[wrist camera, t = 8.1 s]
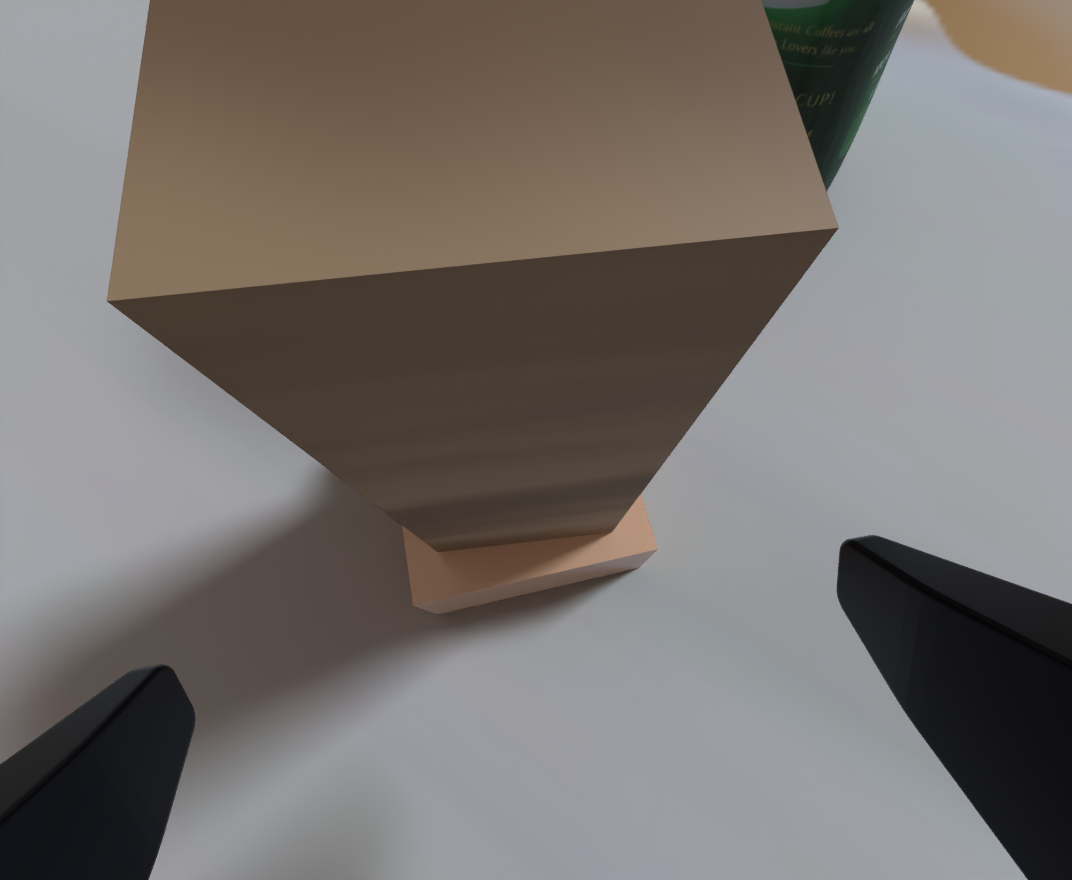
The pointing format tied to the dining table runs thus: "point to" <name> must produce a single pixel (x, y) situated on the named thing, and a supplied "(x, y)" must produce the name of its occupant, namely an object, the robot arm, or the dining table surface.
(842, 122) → the coffee jar
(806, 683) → the dining table surface
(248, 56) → the walnut block
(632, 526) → the terracotta block
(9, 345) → the dining table surface
